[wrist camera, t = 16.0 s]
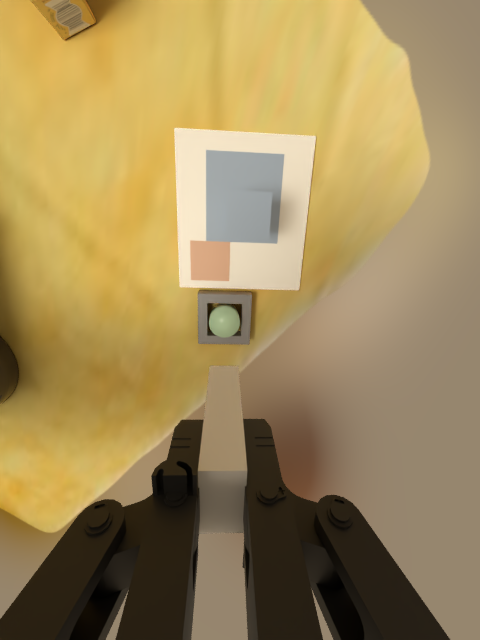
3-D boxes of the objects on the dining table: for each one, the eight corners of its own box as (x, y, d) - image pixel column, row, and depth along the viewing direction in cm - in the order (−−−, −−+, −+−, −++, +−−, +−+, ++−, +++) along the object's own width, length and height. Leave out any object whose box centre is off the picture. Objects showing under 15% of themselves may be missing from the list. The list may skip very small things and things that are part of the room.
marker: (225, 233, 35) (225, 237, 26) (226, 198, 34) (226, 189, 24) (257, 234, 35) (269, 239, 26) (259, 200, 34) (272, 192, 24)
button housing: (199, 337, 40) (198, 343, 38) (199, 290, 38) (197, 293, 36) (248, 338, 41) (249, 344, 39) (250, 291, 38) (252, 295, 36)
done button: (209, 329, 39) (208, 337, 37) (210, 302, 38) (208, 308, 35) (238, 330, 39) (239, 337, 37) (239, 303, 38) (240, 308, 36)
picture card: (180, 286, 38) (179, 287, 37) (175, 129, 32) (174, 127, 31) (298, 289, 39) (299, 290, 38) (314, 137, 33) (316, 135, 32)
